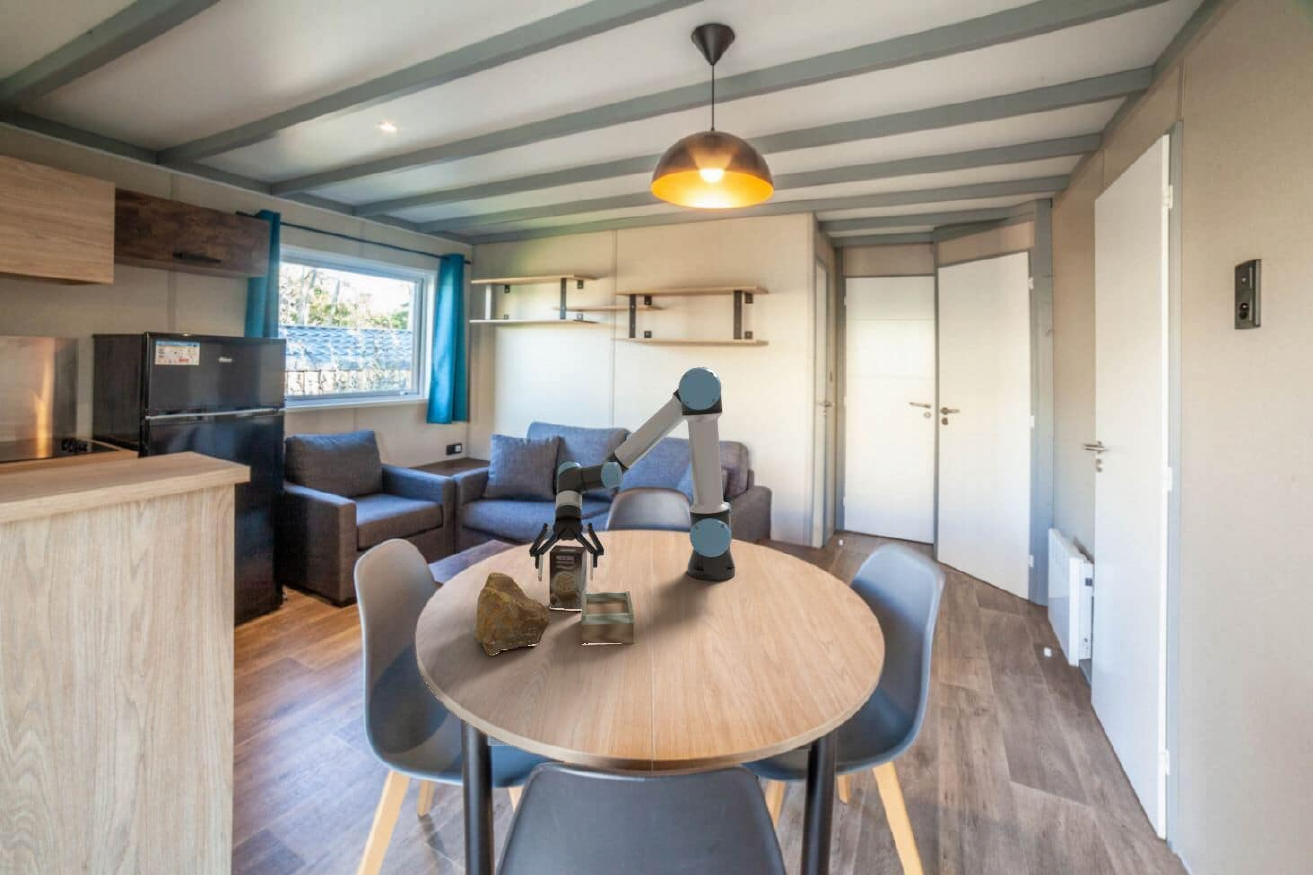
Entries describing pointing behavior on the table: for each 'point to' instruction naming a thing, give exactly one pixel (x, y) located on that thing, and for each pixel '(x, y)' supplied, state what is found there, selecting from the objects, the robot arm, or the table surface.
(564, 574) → the coffee box
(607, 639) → the open wooden box
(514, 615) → the rough brown rock
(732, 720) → the table surface
